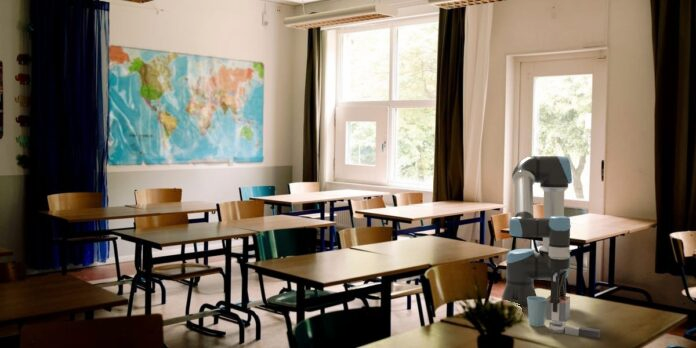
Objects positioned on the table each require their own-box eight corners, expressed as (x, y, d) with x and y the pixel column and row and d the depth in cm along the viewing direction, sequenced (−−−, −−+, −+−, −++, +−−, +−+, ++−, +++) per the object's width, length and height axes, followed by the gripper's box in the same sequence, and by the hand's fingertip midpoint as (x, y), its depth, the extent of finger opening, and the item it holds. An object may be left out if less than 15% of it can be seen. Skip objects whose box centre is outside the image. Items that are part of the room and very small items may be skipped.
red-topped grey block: (565, 321, 251) (565, 300, 250) (546, 319, 254) (546, 298, 254) (569, 317, 257) (570, 296, 256) (550, 315, 260) (551, 294, 260)
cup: (525, 321, 270) (526, 295, 269) (545, 322, 268) (546, 296, 267) (527, 327, 262) (527, 300, 261) (547, 328, 261) (548, 301, 260)
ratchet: (600, 335, 251) (601, 314, 251) (597, 339, 246) (598, 318, 245) (551, 328, 260) (551, 307, 260) (547, 332, 255) (547, 311, 255)
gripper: (562, 262, 244) (561, 325, 245) (575, 254, 261) (574, 313, 262) (542, 260, 248) (540, 322, 249) (555, 252, 265) (554, 310, 266)
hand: (557, 317), depth 256 cm, fingers closed on red-topped grey block, 7 cm apart
